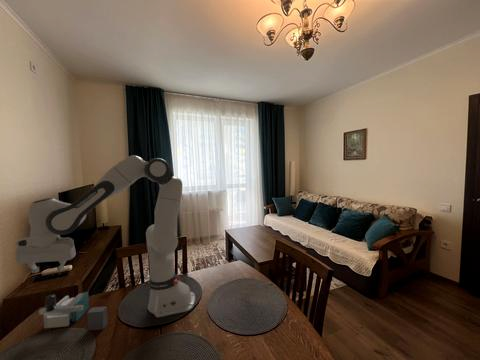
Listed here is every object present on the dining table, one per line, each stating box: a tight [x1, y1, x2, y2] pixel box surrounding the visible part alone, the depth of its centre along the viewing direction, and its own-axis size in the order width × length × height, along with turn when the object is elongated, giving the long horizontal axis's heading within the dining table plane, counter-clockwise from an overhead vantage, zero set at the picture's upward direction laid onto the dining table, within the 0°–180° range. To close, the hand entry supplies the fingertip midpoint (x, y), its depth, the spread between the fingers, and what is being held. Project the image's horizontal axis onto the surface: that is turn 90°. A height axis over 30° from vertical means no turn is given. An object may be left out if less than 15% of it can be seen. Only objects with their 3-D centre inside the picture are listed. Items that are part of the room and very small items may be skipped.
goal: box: [42, 295, 71, 329], centre depth 96 cm, size 9×13×6 cm
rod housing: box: [86, 306, 109, 332], centre depth 89 cm, size 6×3×8 cm, turn 96°
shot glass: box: [59, 296, 76, 321], centre depth 96 cm, size 7×7×7 cm
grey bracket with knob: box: [38, 291, 90, 323], centre depth 93 cm, size 16×15×15 cm
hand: (48, 271), depth 86 cm, fingers open, 8 cm apart
